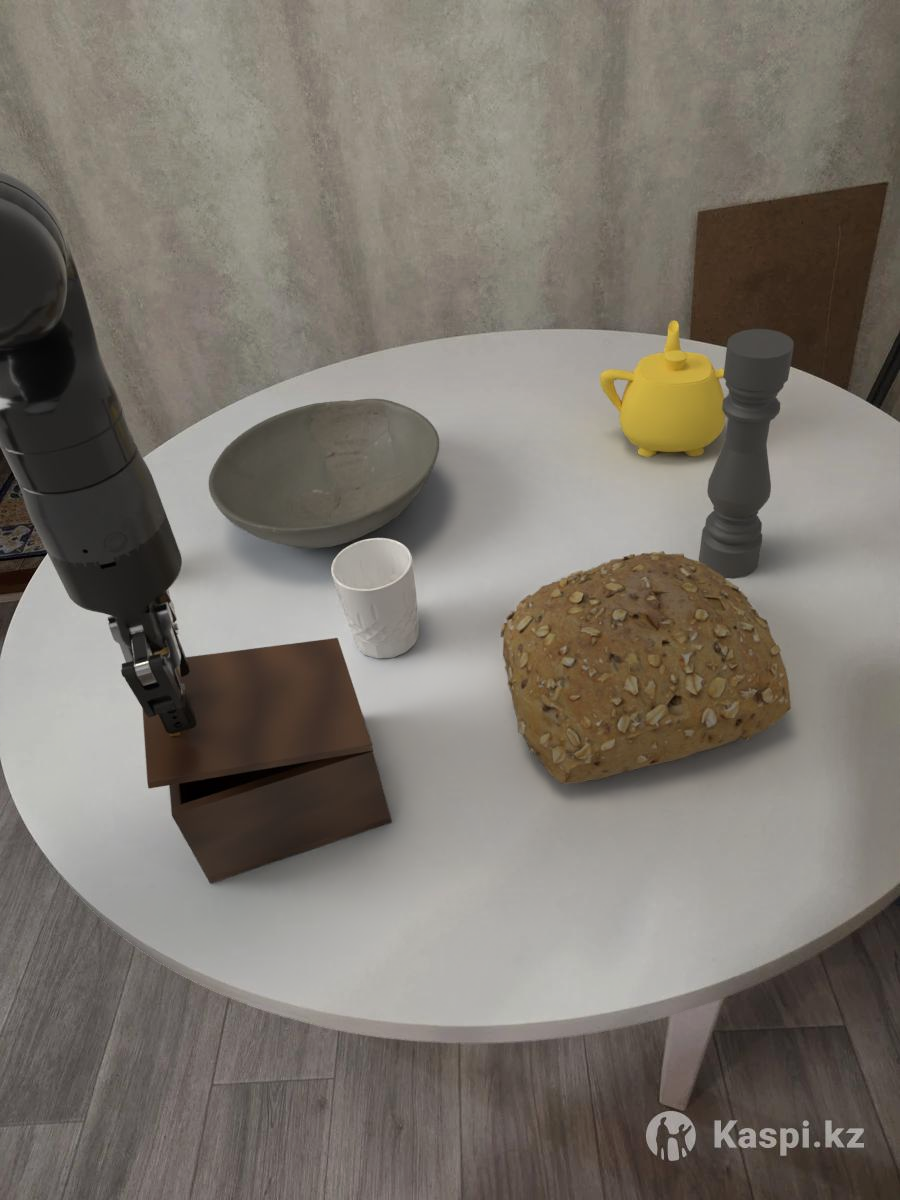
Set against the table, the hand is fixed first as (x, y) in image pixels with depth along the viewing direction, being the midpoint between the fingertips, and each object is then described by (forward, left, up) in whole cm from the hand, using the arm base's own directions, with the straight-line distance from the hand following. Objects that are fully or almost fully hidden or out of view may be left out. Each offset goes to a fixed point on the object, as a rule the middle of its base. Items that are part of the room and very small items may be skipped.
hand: (179, 700), depth 66 cm
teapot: (+66, +32, -15) cm, 75 cm away
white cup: (+20, +14, -15) cm, 28 cm away
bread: (+38, -4, -15) cm, 41 cm away
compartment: (+5, 0, -15) cm, 16 cm away
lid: (+5, 0, -3) cm, 6 cm away
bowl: (+22, +38, -15) cm, 46 cm away
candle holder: (+57, +7, -15) cm, 59 cm away
